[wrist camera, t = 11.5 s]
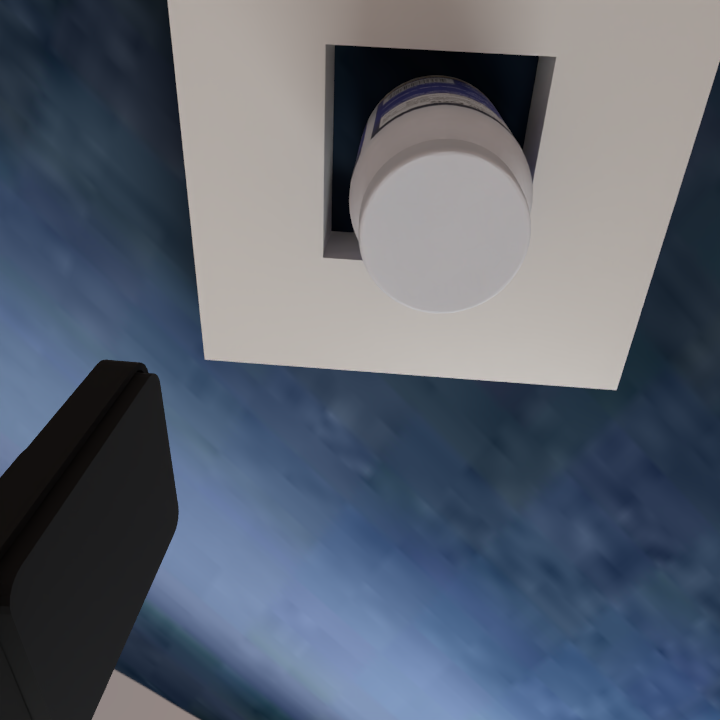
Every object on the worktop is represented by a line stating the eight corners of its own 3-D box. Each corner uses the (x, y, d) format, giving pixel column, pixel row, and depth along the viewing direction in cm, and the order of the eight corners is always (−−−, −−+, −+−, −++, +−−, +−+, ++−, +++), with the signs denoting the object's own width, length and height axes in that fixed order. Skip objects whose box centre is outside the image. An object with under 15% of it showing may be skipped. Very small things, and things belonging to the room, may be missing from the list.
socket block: (735, -125, 20) (781, -138, 18) (598, 354, 30) (616, 390, 27) (182, -149, 21) (150, -164, 18) (222, 326, 30) (204, 359, 28)
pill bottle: (452, 241, 27) (469, 363, 19) (336, 175, 26) (300, 272, 18) (534, 121, 25) (597, 202, 16) (409, 40, 23) (407, 81, 15)
